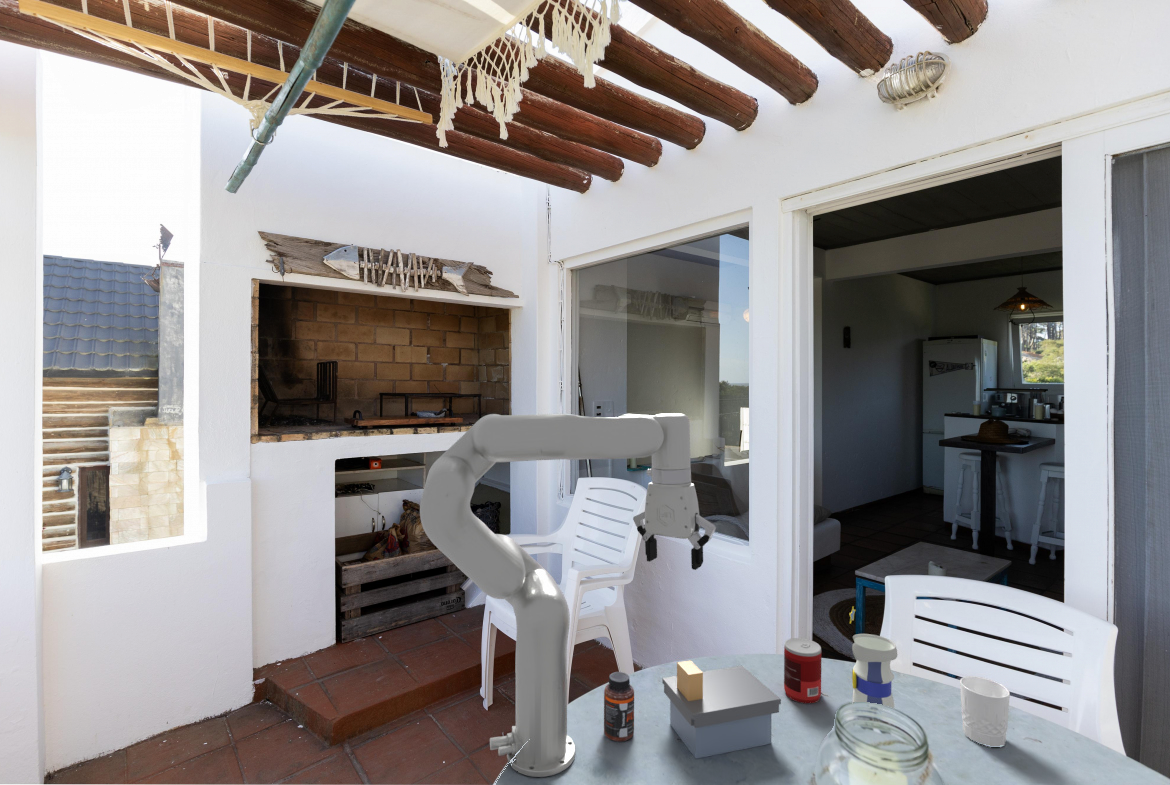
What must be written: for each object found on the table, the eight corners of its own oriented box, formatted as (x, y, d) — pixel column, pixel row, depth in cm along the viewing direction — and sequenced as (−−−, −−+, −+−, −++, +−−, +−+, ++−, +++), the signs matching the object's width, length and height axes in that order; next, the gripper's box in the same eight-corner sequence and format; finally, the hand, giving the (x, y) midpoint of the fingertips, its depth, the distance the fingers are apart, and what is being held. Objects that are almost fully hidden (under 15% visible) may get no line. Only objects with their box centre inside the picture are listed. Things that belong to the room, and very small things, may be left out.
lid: (693, 728, 102) (693, 687, 102) (662, 690, 114) (662, 653, 114) (780, 712, 107) (780, 672, 107) (741, 677, 120) (742, 642, 120)
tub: (695, 758, 103) (696, 715, 103) (670, 724, 114) (670, 685, 114) (771, 743, 108) (771, 701, 108) (739, 711, 118) (740, 673, 118)
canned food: (824, 691, 126) (824, 642, 126) (817, 708, 119) (817, 656, 119) (788, 681, 130) (788, 634, 130) (780, 697, 124) (780, 647, 124)
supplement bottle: (632, 745, 107) (632, 686, 107) (601, 741, 108) (601, 682, 108) (635, 726, 113) (635, 670, 113) (606, 723, 114) (606, 667, 114)
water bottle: (849, 749, 106) (850, 617, 106) (847, 724, 114) (848, 601, 114) (899, 760, 103) (900, 624, 102) (893, 734, 111) (894, 607, 110)
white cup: (965, 720, 115) (965, 672, 115) (1012, 737, 110) (1013, 686, 109) (955, 737, 110) (955, 686, 110) (1005, 756, 104) (1005, 702, 104)
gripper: (623, 476, 112) (626, 561, 112) (705, 483, 102) (707, 577, 102) (642, 471, 118) (644, 552, 118) (720, 476, 108) (723, 565, 108)
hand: (673, 563), depth 110 cm, fingers open, 9 cm apart
